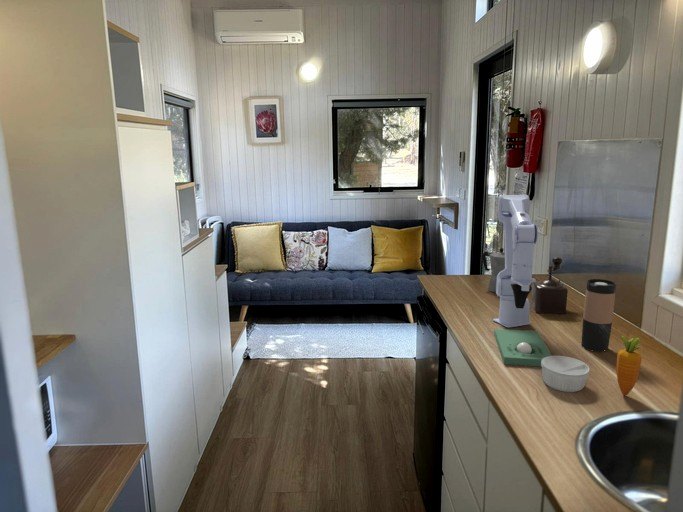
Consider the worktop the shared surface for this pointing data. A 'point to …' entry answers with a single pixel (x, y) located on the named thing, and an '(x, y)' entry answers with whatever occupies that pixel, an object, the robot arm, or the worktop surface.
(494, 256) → the coffeepot
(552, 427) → the worktop surface
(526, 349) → the ball
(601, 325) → the travel mug
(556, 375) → the ramekin
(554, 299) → the manual coffee grinder
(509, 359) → the putting mat
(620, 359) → the carrot
